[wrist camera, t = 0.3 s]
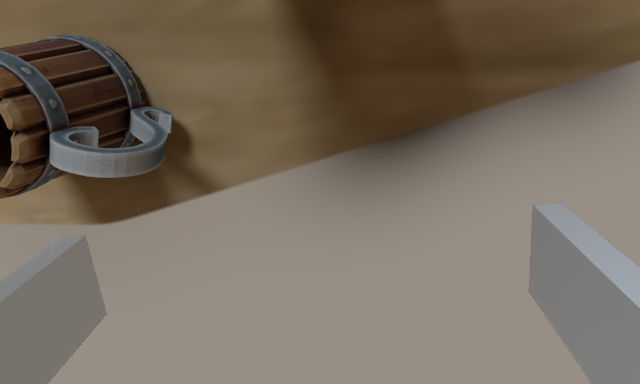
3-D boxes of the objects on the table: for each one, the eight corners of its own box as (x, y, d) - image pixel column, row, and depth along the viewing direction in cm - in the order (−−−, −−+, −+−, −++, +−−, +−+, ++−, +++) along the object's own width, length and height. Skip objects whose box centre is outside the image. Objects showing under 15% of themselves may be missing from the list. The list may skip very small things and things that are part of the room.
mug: (27, 145, 43) (-133, 203, 29) (26, 22, 39) (-155, 19, 25) (199, 182, 43) (125, 257, 29) (214, 62, 40) (138, 80, 25)
